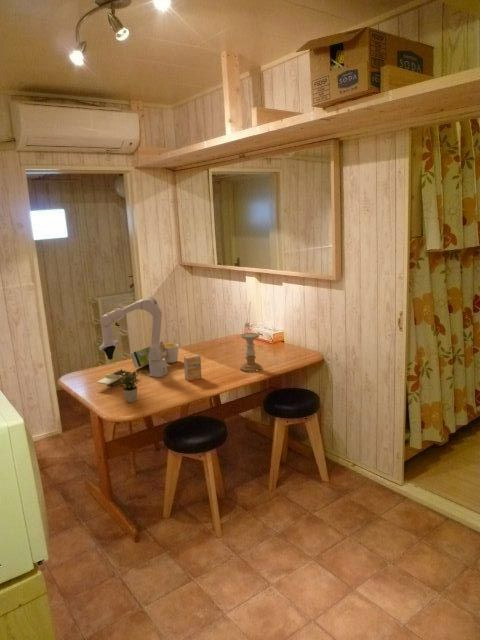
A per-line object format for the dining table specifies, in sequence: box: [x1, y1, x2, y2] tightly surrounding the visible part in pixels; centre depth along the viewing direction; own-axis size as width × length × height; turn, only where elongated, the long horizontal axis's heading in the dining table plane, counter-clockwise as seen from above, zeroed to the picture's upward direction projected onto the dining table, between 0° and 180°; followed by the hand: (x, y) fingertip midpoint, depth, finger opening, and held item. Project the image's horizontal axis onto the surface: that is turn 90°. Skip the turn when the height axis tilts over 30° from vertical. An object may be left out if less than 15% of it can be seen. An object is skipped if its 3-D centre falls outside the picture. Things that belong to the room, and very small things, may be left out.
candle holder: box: [240, 332, 263, 372], centre depth 272 cm, size 12×12×20 cm
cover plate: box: [96, 373, 123, 386], centre depth 254 cm, size 13×8×2 cm, turn 154°
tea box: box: [129, 341, 168, 369], centre depth 283 cm, size 15×10×15 cm
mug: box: [163, 342, 180, 364], centre depth 293 cm, size 14×10×10 cm
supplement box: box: [183, 353, 203, 382], centre depth 260 cm, size 8×5×13 cm, turn 118°
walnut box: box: [109, 368, 137, 387], centre depth 262 cm, size 13×10×4 cm
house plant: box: [115, 369, 143, 403], centre depth 234 cm, size 14×14×16 cm
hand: (110, 359), depth 268 cm, fingers closed
